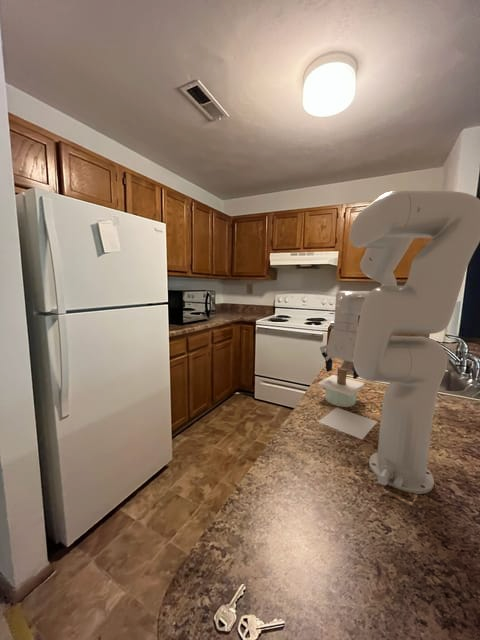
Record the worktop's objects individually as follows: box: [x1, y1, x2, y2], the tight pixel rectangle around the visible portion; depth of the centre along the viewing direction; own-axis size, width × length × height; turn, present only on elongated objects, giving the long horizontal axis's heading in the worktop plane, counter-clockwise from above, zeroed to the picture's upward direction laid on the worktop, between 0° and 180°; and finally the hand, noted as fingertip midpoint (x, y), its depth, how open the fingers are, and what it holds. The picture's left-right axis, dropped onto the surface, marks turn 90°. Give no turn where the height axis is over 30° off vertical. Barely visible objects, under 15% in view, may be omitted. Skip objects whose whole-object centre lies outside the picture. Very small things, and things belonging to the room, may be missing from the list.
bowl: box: [324, 388, 358, 408], centre depth 96 cm, size 10×10×6 cm
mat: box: [317, 406, 378, 440], centre depth 82 cm, size 13×13×1 cm
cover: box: [317, 367, 366, 396], centre depth 95 cm, size 12×12×6 cm
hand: (341, 374), depth 95 cm, fingers open, 9 cm apart
